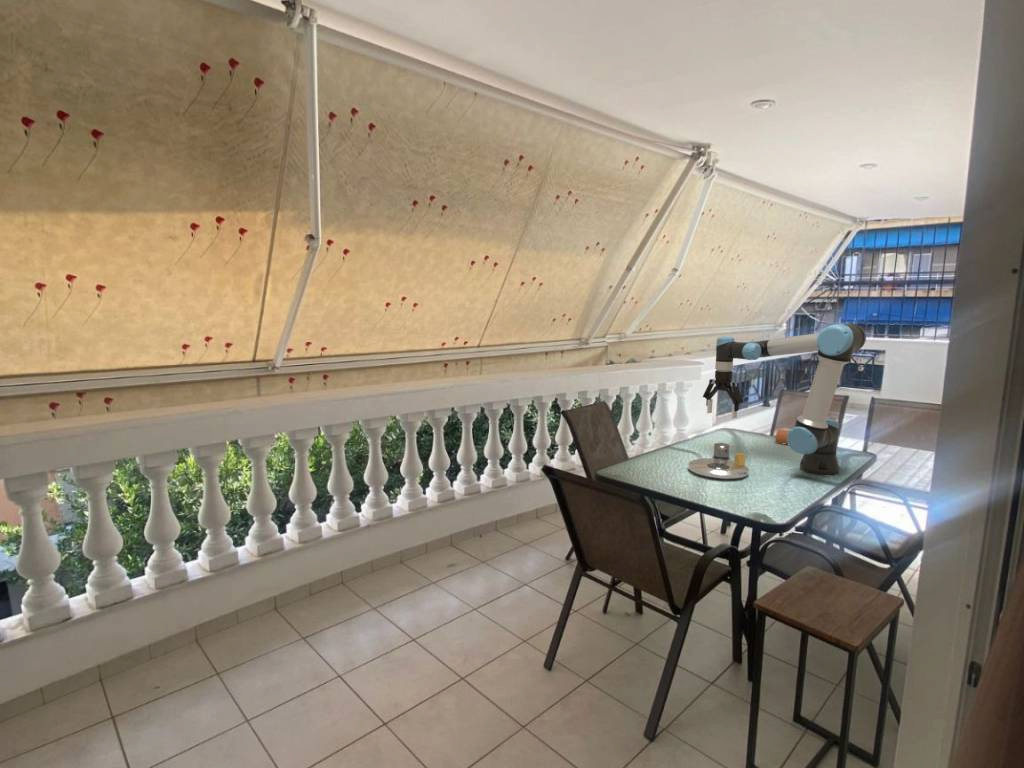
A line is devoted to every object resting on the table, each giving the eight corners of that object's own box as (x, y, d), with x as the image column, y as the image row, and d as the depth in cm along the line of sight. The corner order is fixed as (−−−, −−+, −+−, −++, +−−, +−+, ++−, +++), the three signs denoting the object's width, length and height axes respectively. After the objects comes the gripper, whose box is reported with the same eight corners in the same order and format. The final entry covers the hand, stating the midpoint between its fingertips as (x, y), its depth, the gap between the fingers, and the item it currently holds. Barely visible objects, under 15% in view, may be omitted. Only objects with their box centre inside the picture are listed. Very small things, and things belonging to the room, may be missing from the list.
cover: (733, 460, 255) (734, 445, 254) (721, 462, 252) (722, 447, 250) (721, 456, 262) (721, 441, 260) (708, 458, 258) (709, 443, 257)
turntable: (706, 480, 222) (707, 464, 221) (678, 463, 246) (679, 449, 245) (760, 476, 226) (761, 461, 225) (728, 460, 250) (729, 446, 249)
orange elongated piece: (791, 448, 275) (793, 433, 274) (775, 445, 280) (776, 430, 279) (802, 440, 290) (803, 426, 289) (786, 438, 295) (787, 423, 294)
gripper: (753, 372, 246) (750, 419, 249) (706, 367, 267) (704, 410, 270) (742, 373, 242) (739, 421, 245) (696, 368, 263) (694, 411, 266)
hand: (721, 415), depth 257 cm, fingers open, 13 cm apart
